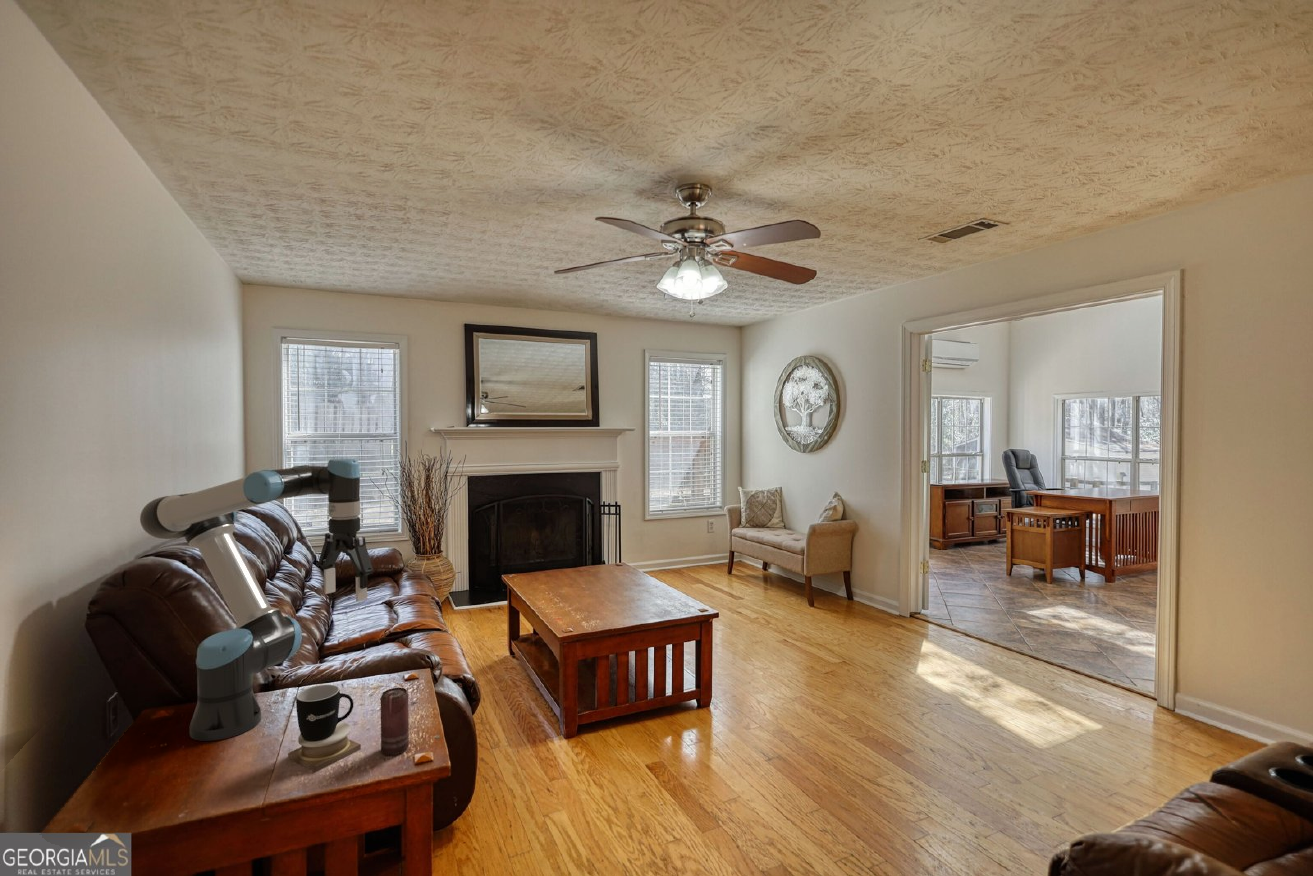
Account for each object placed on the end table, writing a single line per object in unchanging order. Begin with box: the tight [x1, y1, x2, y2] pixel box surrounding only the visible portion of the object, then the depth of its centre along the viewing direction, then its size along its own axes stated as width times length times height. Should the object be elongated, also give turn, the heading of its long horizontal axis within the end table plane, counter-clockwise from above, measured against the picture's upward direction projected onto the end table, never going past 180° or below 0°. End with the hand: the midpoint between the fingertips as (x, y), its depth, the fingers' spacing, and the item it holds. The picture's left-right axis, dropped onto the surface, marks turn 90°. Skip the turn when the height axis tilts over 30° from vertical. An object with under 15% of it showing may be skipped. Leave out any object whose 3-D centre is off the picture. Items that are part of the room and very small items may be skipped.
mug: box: [295, 684, 354, 742], centre depth 147 cm, size 12×9×10 cm
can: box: [380, 687, 410, 757], centre depth 149 cm, size 6×6×14 cm
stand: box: [287, 721, 362, 773], centre depth 148 cm, size 11×11×5 cm
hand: (345, 596), depth 167 cm, fingers open, 13 cm apart
